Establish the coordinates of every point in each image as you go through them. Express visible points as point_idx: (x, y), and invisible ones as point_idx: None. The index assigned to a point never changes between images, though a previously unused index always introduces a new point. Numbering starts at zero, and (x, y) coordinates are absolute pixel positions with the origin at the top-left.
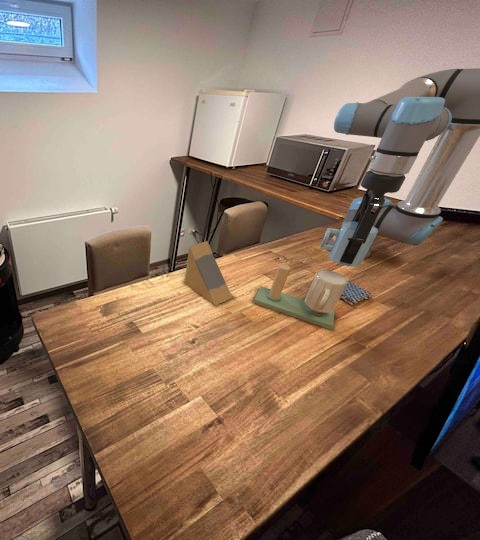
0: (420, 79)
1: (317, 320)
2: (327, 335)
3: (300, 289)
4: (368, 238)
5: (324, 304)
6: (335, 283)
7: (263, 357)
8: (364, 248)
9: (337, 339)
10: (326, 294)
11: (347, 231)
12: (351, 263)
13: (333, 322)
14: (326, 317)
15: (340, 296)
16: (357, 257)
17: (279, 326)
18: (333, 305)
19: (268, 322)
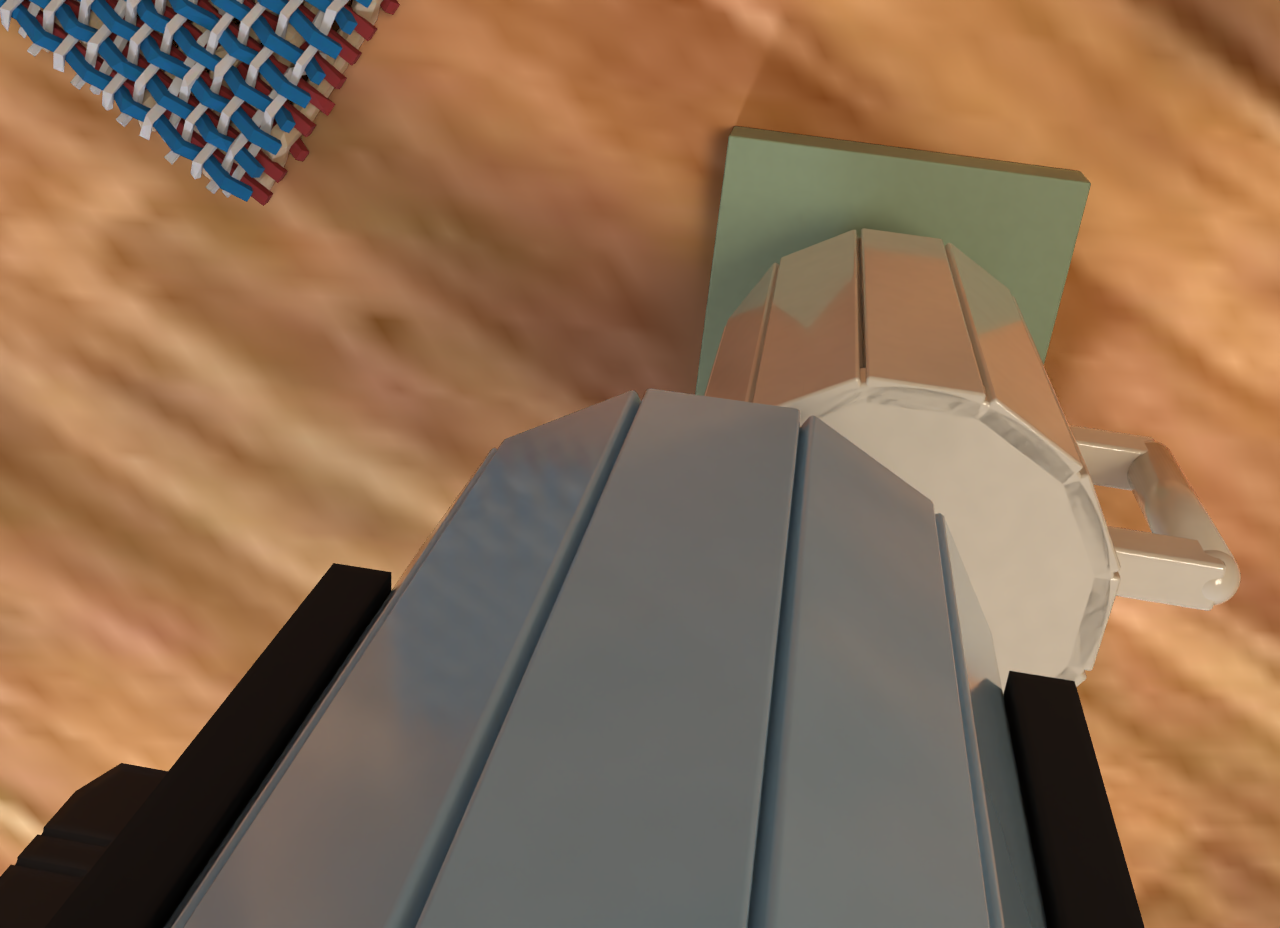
0: None
1: (1046, 337)
2: (1199, 216)
3: (422, 425)
4: None
5: (1189, 485)
6: (1081, 565)
7: None
8: (999, 843)
9: (1237, 121)
10: (1232, 594)
11: None
12: (1071, 700)
13: (1015, 174)
14: (945, 241)
15: (374, 32)
16: (989, 703)
17: (1210, 635)
18: (1004, 306)
19: (1181, 718)
